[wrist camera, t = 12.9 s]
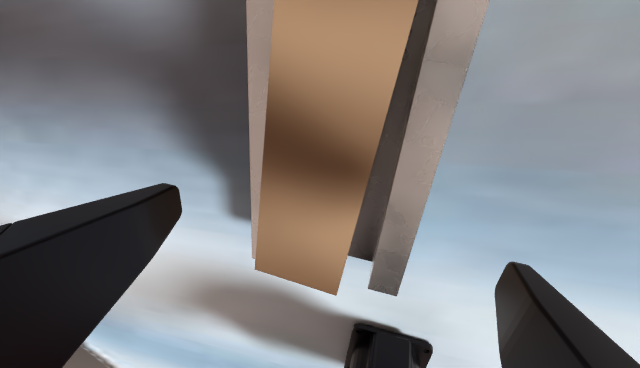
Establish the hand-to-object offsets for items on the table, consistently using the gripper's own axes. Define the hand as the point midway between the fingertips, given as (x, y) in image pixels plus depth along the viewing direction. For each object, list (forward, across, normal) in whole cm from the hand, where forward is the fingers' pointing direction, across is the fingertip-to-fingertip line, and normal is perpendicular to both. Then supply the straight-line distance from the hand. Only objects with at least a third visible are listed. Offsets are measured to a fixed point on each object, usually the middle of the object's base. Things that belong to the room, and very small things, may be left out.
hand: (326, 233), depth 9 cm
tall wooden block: (+10, +1, -1) cm, 11 cm away
